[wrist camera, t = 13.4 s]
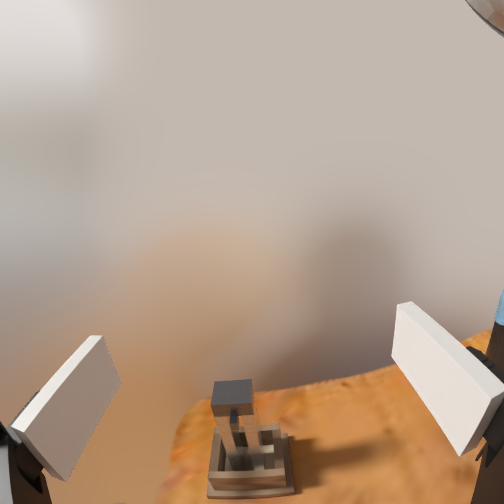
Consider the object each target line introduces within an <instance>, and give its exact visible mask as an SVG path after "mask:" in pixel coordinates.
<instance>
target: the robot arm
mask: <svg viewBox="0 0 504 504" xmlns="http://www.w3.org/2000/svg"><path fill="white" fill-rule="evenodd" d="M466 2H467V3H468V4H469V6H470V7H471V8H472V9H473V11H475V13H476V14H477V15H478V16H479V17H480V18H481V19H482V20H483V21H484V22H485V23H486V24H488V25H489V26H490V27H491V28H492V29H493V30H495V31H496V32H497V33H498V34H500V35H501V36H503V37H504V0H466ZM392 358H393V359H394V361H395V362H396V363H397V365H398V366H399V368H400V369H401V370H402V372H403V373H404V375H405V376H406V377H407V379H408V380H409V382H410V383H411V384H412V386H413V387H414V389H415V390H416V392H417V393H418V394H419V396H420V397H421V399H422V400H423V402H424V403H425V405H426V406H427V408H428V409H429V411H430V412H431V413H432V415H433V416H434V418H435V419H436V421H437V422H438V424H439V426H440V427H441V429H442V430H443V432H444V433H445V435H446V436H447V438H448V439H449V441H450V443H451V444H452V446H453V447H454V449H455V450H456V452H457V454H458V455H459V457H460V456H462V455H463V454H465V453H467V452H469V451H471V450H472V449H474V448H476V447H477V445H478V443H479V442H480V440H481V439H482V437H484V438H485V440H486V441H487V442H486V443H485V445H484V446H483V448H482V449H481V451H480V452H479V454H478V455H477V457H476V460H475V461H478V460H479V458H480V457H481V456H482V460H481V465H480V469H479V474H478V478H477V482H476V486H475V490H474V493H473V497H472V500H471V504H504V290H503V292H502V294H501V296H500V301H499V305H498V309H497V311H496V313H495V323H494V327H493V330H492V334H491V338H490V341H489V345H488V348H487V351H486V354H485V355H484V354H483V353H482V352H481V351H479V350H477V349H475V348H473V347H470V346H469V347H466V348H465V347H464V346H463V345H462V344H461V343H460V342H458V341H457V340H456V339H455V338H454V337H453V336H452V335H450V334H449V333H448V332H447V331H446V330H445V329H444V328H443V327H441V326H440V325H439V324H438V323H437V322H436V321H434V320H433V319H432V318H431V317H429V315H427V314H426V313H425V312H424V311H423V310H421V309H420V308H419V307H418V306H417V305H415V304H414V303H413V302H407V303H402V304H398V305H397V314H396V324H395V333H394V342H393V350H392ZM121 383H122V382H121V380H120V378H119V376H118V373H117V371H116V368H115V366H114V363H113V361H112V358H111V356H110V354H109V351H108V348H107V346H106V343H105V340H104V337H103V336H89V338H88V339H87V340H86V341H85V342H84V343H83V344H82V345H81V346H80V347H79V348H78V349H77V350H76V351H75V352H74V354H73V355H72V356H71V357H70V358H69V359H68V360H67V361H66V362H65V363H64V365H63V366H62V367H61V368H60V369H59V370H58V371H57V372H56V374H54V376H53V377H52V378H51V379H50V380H49V381H48V383H47V384H46V385H45V386H44V387H43V388H42V389H41V390H39V391H38V392H36V393H35V395H34V396H33V397H32V398H31V399H30V402H28V403H27V404H26V405H25V408H23V409H22V410H21V411H20V412H19V413H18V415H17V416H16V417H15V418H14V420H13V421H12V422H11V423H10V425H9V426H8V427H7V428H6V429H5V427H4V426H3V425H2V423H1V422H0V504H52V502H51V498H50V494H49V491H48V487H47V482H46V479H45V476H44V474H43V473H42V472H41V471H42V469H43V468H45V469H46V470H47V471H48V472H49V474H50V475H51V476H52V477H55V478H57V479H59V480H62V481H65V482H67V480H68V479H69V477H70V475H71V473H72V471H73V469H74V467H75V465H76V463H77V461H78V459H79V457H80V455H81V454H82V452H83V450H84V448H85V446H86V444H87V442H88V441H89V439H90V437H91V435H92V434H93V432H94V430H95V428H96V426H97V425H98V423H99V421H100V419H101V417H102V416H103V414H104V412H105V410H106V409H107V407H108V405H109V403H110V402H111V400H112V398H113V396H114V395H115V393H116V391H117V389H118V388H119V386H120V385H121Z"/></svg>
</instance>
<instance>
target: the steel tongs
mask: <svg viewBox="0 0 504 504" xmlns="http://www.w3.org/2000/svg"><path fill="white" fill-rule="evenodd" d="M211 408H212V411H213V414H214V417H215V420H216V423H217V426H218V430H219V433H220V436H221V439H222V441H223V444H224V447H225V450H226V453H227V456H228V459H229V461H230V464H231V467H232V469H233V471H245V453H244V449H243V446H242V442H241V438H240V434H239V431H238V430H239V418H238V416H241V418H242V422H243V426H244V430H245V435H246V439H247V443H248V447H249V451H250V455H251V459H252V463H253V466H254V470H265V453H264V447H263V442H262V436H261V431H260V425H259V420H258V414H257V408H256V403H255V397H254V391H253V385H252V380H251V379H248V380H234V381H219V382H215V383H214V389H213V395H212V400H211Z"/></svg>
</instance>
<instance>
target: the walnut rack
mask: <svg viewBox="0 0 504 504" xmlns="http://www.w3.org/2000/svg"><path fill="white" fill-rule="evenodd" d="M238 431H239V434H240V438H241V442H242V446H243V449H244V453H245V471H233V469H232V467H231V464H230V461H229V459H228V456H227V453H226V450H225V447H224V444H223V441H222V439H221V436H220V433H219V430H218V428H215V429H214V436H213V443H212V450H211V458H210V465H209V473H208V487H207V494H206V496H207V497H208V498H214V499H246V498H266V497H278V496H287V495H295V490H294V482H293V474H292V466H291V458H290V450H289V442H288V434H287V433H283V434H281V430H280V424H270V425H260V431H261V436H262V442H263V447H264V453H265V470H254V466H253V463H252V459H251V455H250V451H249V447H248V443H247V439H246V435H245V430H244V427H239V430H238Z"/></svg>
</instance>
